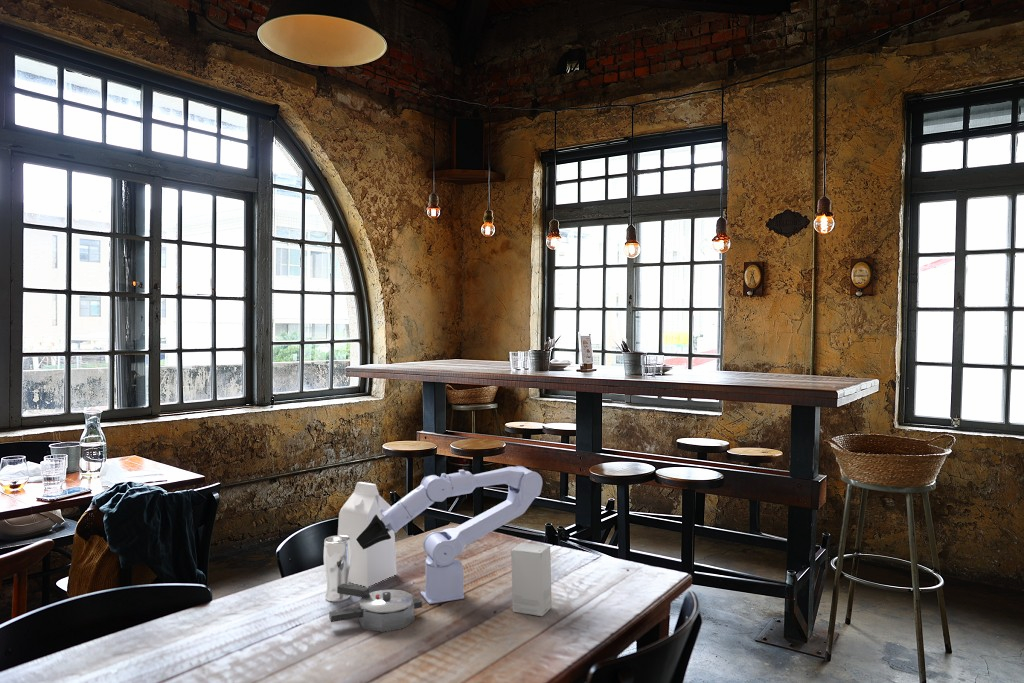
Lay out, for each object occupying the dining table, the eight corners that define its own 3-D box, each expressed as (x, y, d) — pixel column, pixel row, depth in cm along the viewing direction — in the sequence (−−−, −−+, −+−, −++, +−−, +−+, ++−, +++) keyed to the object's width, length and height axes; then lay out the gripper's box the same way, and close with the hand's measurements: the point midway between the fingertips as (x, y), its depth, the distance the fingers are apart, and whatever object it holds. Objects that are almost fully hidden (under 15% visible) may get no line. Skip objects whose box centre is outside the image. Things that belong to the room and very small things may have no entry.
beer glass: (344, 603, 177) (344, 543, 177) (318, 601, 179) (318, 542, 178) (356, 593, 184) (356, 536, 184) (331, 591, 186) (331, 534, 185)
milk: (396, 575, 198) (396, 482, 198) (367, 587, 188) (367, 490, 188) (365, 567, 205) (365, 477, 204) (335, 578, 195) (335, 484, 194)
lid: (422, 597, 171) (422, 587, 171) (396, 616, 159) (396, 605, 159) (354, 586, 178) (354, 576, 178) (324, 604, 166) (324, 594, 166)
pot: (413, 605, 176) (413, 589, 176) (427, 624, 165) (427, 607, 165) (325, 619, 167) (325, 602, 167) (334, 640, 157) (334, 622, 156)
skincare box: (552, 608, 175) (552, 545, 175) (542, 618, 169) (542, 553, 169) (521, 602, 179) (521, 541, 178) (510, 612, 173) (510, 548, 172)
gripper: (397, 501, 186) (353, 534, 182) (395, 492, 172) (347, 527, 168) (413, 523, 184) (369, 557, 180) (412, 516, 171) (364, 552, 167)
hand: (359, 544), depth 174 cm, fingers open, 7 cm apart
